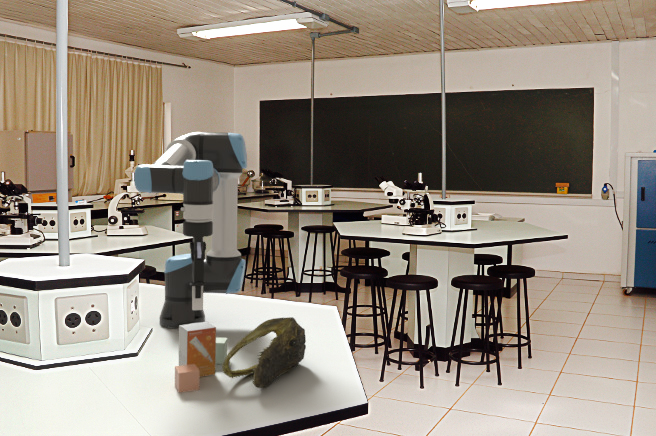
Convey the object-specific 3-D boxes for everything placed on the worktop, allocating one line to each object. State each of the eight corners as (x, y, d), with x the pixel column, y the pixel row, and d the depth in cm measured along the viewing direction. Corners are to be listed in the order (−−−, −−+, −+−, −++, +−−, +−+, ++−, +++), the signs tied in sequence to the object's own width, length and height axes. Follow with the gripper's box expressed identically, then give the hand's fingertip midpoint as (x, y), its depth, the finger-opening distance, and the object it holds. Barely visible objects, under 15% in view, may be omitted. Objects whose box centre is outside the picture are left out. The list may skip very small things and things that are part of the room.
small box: (186, 380, 156) (186, 331, 154) (178, 372, 161) (178, 324, 159) (216, 374, 160) (216, 326, 159) (206, 367, 165) (207, 320, 164)
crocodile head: (262, 336, 178) (295, 305, 172) (294, 384, 172) (329, 353, 167) (200, 352, 154) (236, 316, 149) (234, 408, 148) (272, 372, 143)
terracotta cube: (174, 385, 152) (174, 366, 152) (194, 382, 154) (194, 363, 154) (178, 393, 148) (179, 373, 147) (199, 390, 150) (199, 370, 149)
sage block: (209, 357, 173) (209, 337, 173) (227, 358, 173) (227, 337, 173) (206, 363, 168) (206, 342, 168) (224, 364, 168) (224, 343, 168)
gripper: (182, 217, 161) (182, 303, 164) (184, 223, 149) (183, 317, 152) (210, 217, 163) (210, 302, 166) (214, 223, 151) (214, 315, 154)
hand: (197, 309), depth 159 cm, fingers closed
